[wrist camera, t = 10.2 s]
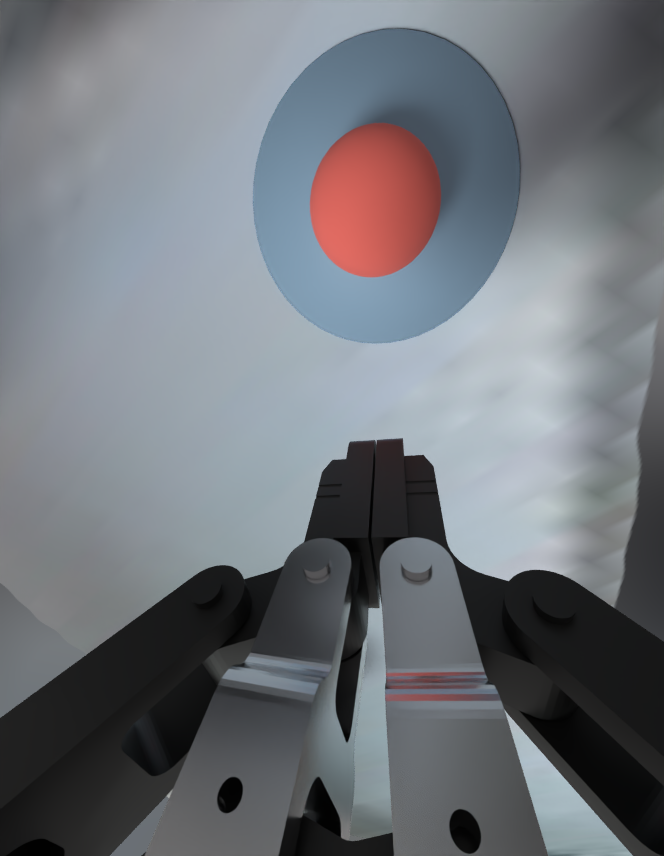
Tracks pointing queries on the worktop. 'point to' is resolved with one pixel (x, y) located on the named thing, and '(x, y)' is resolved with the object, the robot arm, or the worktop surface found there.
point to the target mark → (451, 151)
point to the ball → (375, 200)
